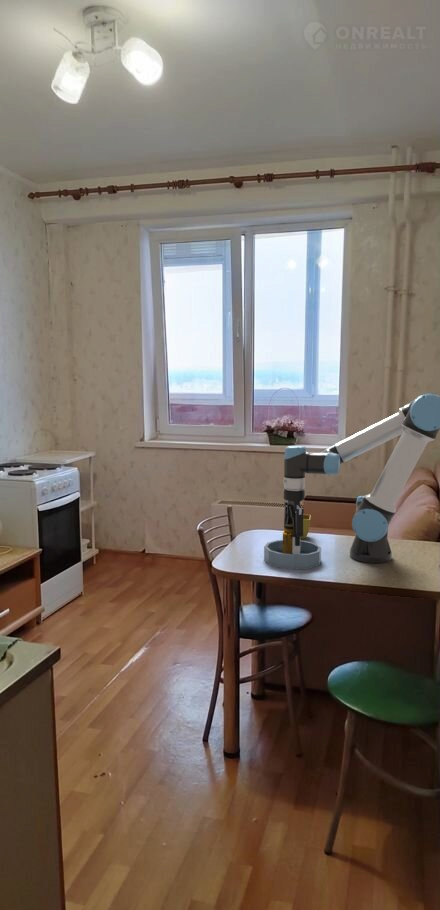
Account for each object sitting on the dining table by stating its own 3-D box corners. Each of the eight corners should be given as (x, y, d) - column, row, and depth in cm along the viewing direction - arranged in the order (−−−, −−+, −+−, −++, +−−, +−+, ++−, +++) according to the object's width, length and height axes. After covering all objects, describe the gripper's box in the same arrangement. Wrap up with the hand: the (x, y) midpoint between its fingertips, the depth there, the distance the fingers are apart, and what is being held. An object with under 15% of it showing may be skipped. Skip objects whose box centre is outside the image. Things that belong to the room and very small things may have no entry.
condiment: (280, 554, 216) (281, 522, 214) (303, 555, 215) (304, 523, 214) (282, 560, 208) (282, 527, 207) (305, 560, 208) (306, 528, 207)
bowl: (308, 551, 224) (308, 538, 224) (329, 567, 205) (329, 553, 204) (258, 554, 220) (258, 541, 219) (274, 570, 200) (275, 556, 200)
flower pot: (309, 540, 239) (310, 519, 238) (288, 539, 241) (288, 518, 240) (310, 535, 248) (311, 514, 247) (289, 534, 250) (290, 513, 248)
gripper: (275, 484, 218) (274, 544, 220) (293, 494, 199) (292, 559, 202) (294, 484, 219) (293, 543, 222) (314, 493, 201) (312, 558, 203)
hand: (292, 551), depth 212 cm, fingers open, 6 cm apart
